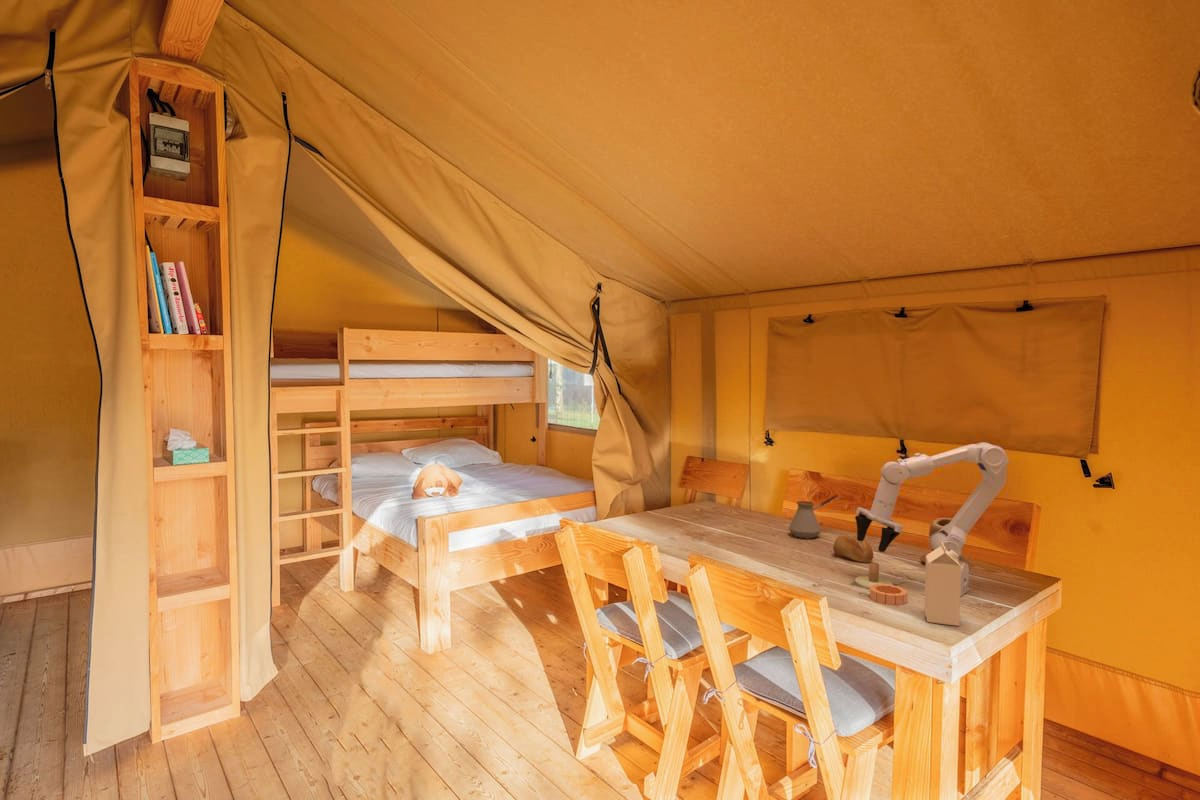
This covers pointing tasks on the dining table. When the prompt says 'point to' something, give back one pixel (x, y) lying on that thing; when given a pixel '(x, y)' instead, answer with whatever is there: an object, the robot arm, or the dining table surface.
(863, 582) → the lid
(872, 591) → the bowl
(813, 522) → the coffee pot
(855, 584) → the mat
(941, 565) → the milk carton
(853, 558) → the bread roll
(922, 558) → the stone cup
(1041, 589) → the dining table surface
